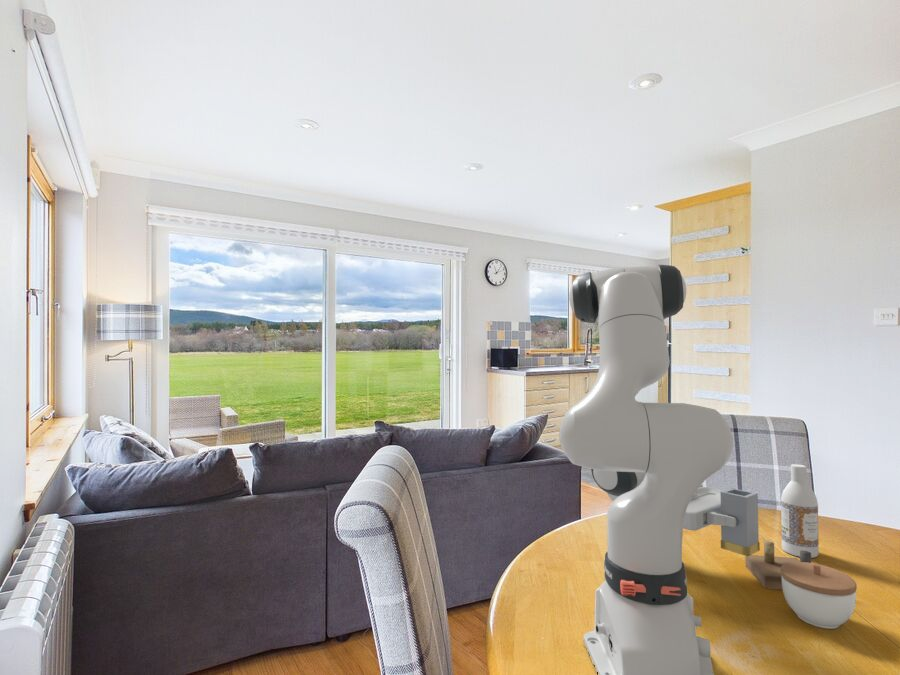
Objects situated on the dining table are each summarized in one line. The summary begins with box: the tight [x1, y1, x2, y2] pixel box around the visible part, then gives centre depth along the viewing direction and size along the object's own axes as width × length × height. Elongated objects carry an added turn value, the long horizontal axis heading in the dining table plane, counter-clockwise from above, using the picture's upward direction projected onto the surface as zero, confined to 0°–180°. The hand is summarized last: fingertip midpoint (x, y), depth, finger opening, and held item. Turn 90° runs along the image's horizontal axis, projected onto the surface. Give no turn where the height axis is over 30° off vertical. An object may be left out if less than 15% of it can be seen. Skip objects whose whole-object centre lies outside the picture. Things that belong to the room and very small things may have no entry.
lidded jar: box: [780, 562, 858, 630], centre depth 87 cm, size 11×11×9 cm
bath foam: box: [780, 463, 820, 559], centre depth 114 cm, size 7×7×20 cm
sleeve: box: [720, 487, 761, 557], centre depth 97 cm, size 5×5×11 cm
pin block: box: [744, 540, 812, 591], centre depth 101 cm, size 10×10×6 cm
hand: (744, 519), depth 97 cm, fingers closed on sleeve, 5 cm apart
